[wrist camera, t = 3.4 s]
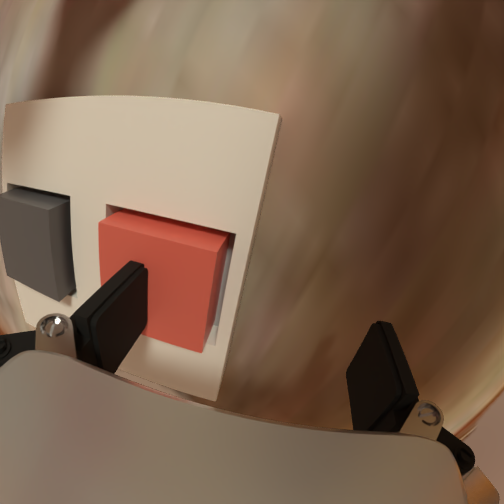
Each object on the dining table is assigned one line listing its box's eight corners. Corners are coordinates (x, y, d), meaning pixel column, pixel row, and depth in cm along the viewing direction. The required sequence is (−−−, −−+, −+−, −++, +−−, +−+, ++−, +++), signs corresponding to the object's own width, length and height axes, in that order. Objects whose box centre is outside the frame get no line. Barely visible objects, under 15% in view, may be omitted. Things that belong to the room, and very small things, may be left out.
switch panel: (281, 119, 12) (279, 114, 9) (225, 367, 18) (215, 401, 15) (40, 102, 12) (5, 104, 9) (48, 301, 18) (25, 321, 16)
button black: (80, 196, 12) (48, 210, 10) (84, 280, 14) (59, 302, 12) (25, 184, 13) (-5, 195, 10) (31, 258, 15) (7, 275, 12)
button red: (231, 229, 12) (217, 252, 10) (214, 320, 14) (201, 353, 12) (128, 205, 12) (98, 222, 10) (127, 294, 14) (104, 320, 12)
